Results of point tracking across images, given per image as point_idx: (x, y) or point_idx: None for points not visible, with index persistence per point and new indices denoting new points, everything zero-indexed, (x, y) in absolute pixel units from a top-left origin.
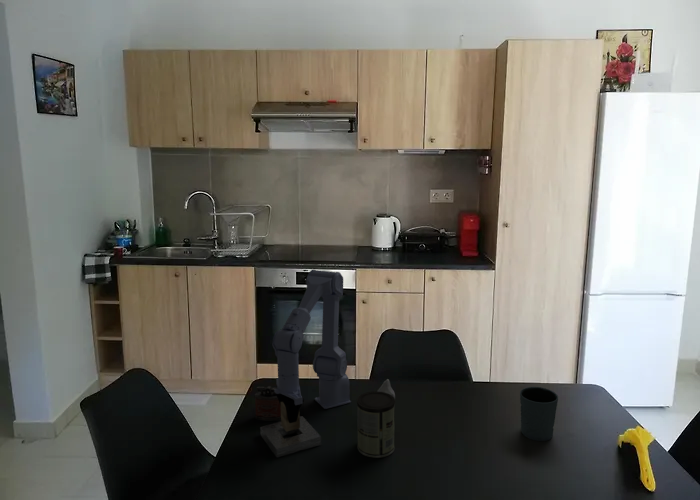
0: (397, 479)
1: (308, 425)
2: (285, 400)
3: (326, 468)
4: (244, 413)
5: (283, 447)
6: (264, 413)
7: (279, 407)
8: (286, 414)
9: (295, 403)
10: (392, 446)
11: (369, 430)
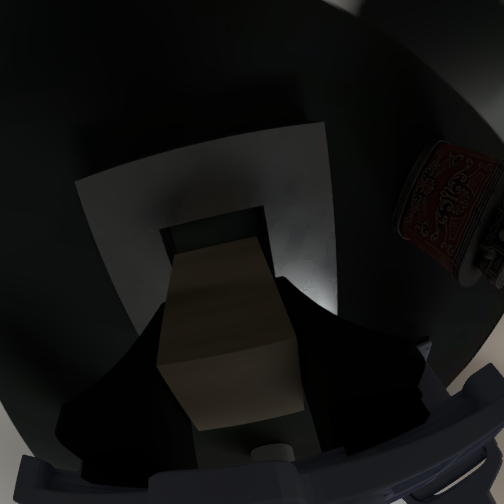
0: (31, 411)
1: None
2: (106, 442)
3: (34, 322)
4: (470, 114)
5: (87, 215)
6: (433, 176)
7: (425, 249)
8: (164, 326)
9: (21, 466)
10: None
11: (80, 468)
